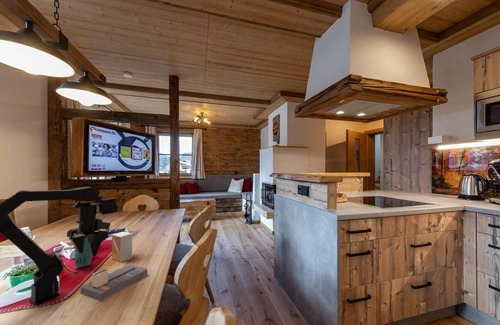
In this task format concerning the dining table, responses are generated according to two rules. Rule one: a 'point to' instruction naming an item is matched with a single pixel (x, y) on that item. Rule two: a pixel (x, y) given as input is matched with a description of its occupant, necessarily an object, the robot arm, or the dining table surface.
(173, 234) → the dining table surface
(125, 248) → the small box
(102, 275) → the fader knob
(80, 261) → the beverage bottle
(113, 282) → the console
